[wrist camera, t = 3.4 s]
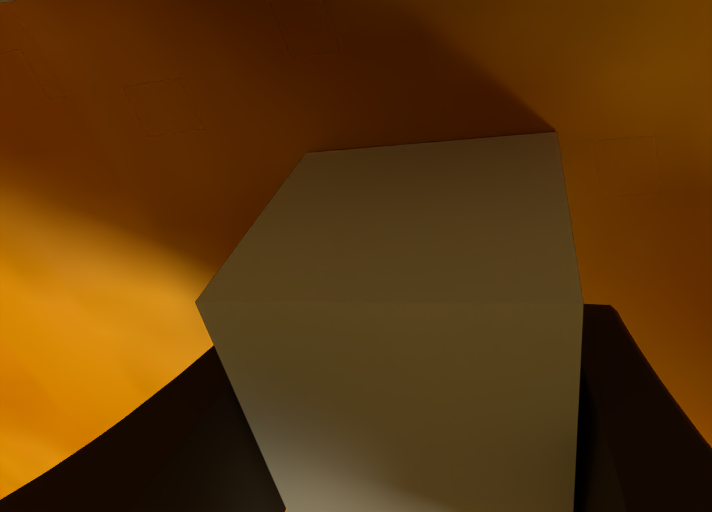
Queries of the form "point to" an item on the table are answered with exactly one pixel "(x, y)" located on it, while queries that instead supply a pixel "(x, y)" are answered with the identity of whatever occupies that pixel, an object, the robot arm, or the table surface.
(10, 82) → the table surface
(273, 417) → the carton
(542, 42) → the table surface
